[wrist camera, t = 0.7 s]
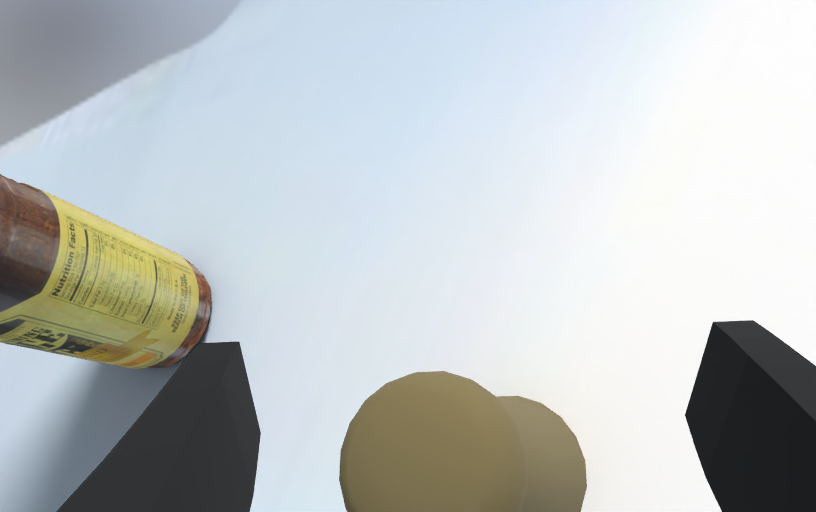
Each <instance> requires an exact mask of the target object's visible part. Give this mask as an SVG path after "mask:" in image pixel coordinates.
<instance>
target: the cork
mask: <svg viewBox="0 0 816 512" xmlns="http://www.w3.org/2000/svg"><path fill="white" fill-rule="evenodd" d="M339 481H340V485H341V489H342V494H343V498H344V503H345V507H346V510H347V512H580V511H581V507H582V503H583V499H584V495H585V491H586V487H587V484H586V468H585V459H584V457H583V454H582V451H581V449H580V446H579V444H578V441H577V438H576V436H575V435H574V434H573V432H572V431H571V430H570V428H569V427H568V426H567V425H566V423H565V422H564V421H563V419H562V418H561V417H560V416H559V415H557V414H556V413H554V412H553V411H551V410H550V409H549V408H547V407H546V406H544V405H543V404H541V403H539V402H536V401H533V400H529V399H526V398H523V397H519V396H504V397H496V396H494V395H493V394H491V393H490V392H489V391H487V390H486V389H484V388H483V387H482V386H480V385H479V384H477V383H476V382H474V381H473V380H471V379H468V378H464V377H461V376H458V375H454V374H451V373H448V372H445V371H440V372H417V373H413V374H410V375H407V376H405V377H402V378H399V379H397V380H394V381H392V382H389V383H386V384H385V385H384V386H383V387H381V388H380V389H379V390H378V391H376V392H375V393H374V394H373V395H372V396H370V397H369V398H368V399H367V400H365V402H364V403H363V405H362V406H361V408H360V409H359V411H358V412H357V414H356V415H355V416H354V418H353V419H352V421H351V422H350V424H349V427H348V430H347V433H346V436H345V439H344V442H343V445H342V449H341V457H340V477H339Z"/></svg>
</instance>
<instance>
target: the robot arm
mask: <svg viewBox="0 0 816 512" xmlns="http://www.w3.org/2000/svg"><path fill="white" fill-rule="evenodd" d="M685 416H686V419H687V423H688V426H689V429H690V432H691V435H692V438H693V442H694V445H695V448H696V451H697V454H698V457H699V459H700V462H701V465H702V468H703V471H704V474H705V476H706V479H707V481H708V483H709V485H710V487H711V489H712V492H713V494H714V496H715V498H716V500H717V502H718V504H719V506H720V508H721V510H722V512H816V366H815V365H814V364H812V363H811V362H810V361H808V360H807V359H806V358H804V357H803V356H802V355H800V354H799V353H798V352H796V351H795V350H794V349H792V348H791V347H790V346H788V345H787V344H786V343H784V342H783V341H782V340H780V339H779V338H777V337H776V336H775V335H773V334H772V333H771V332H769V331H768V330H766V329H765V328H763V327H762V326H761V325H759V324H758V323H756V322H755V321H753V320H752V321H728V322H713V324H712V327H711V331H710V334H709V337H708V341H707V344H706V347H705V351H704V354H703V357H702V361H701V364H700V367H699V371H698V374H697V377H696V380H695V384H694V387H693V390H692V394H691V397H690V400H689V404H688V407H687V410H686V414H685ZM260 434H261V432H260V428H259V424H258V420H257V415H256V411H255V407H254V403H253V398H252V394H251V390H250V386H249V381H248V377H247V373H246V369H245V364H244V360H243V356H242V352H241V347H240V343H239V342H219V343H199V344H198V345H197V346H196V347H195V348H194V349H193V350H192V352H191V353H190V354H189V355H188V357H187V358H186V359H185V360H184V362H183V363H182V364H181V366H180V367H179V368H178V369H177V371H176V372H175V373H174V374H173V376H172V377H171V378H170V380H169V381H168V382H167V383H166V385H165V386H164V387H163V389H162V390H161V391H160V392H159V394H158V395H157V396H156V397H155V399H154V400H153V401H152V402H151V404H150V405H149V406H148V407H147V409H146V410H145V411H144V412H143V414H142V415H141V416H140V417H139V418H138V420H137V421H136V422H135V423H134V424H133V426H132V427H131V428H130V429H129V430H128V431H127V433H126V434H125V435H124V436H123V437H122V439H121V440H120V441H119V442H118V443H117V445H116V446H115V447H114V448H113V449H112V451H111V452H110V453H109V454H108V455H107V456H106V458H105V459H104V460H103V461H102V462H101V463H100V464H99V466H98V467H97V468H96V469H95V470H94V471H93V472H92V473H91V474H90V475H89V477H88V478H87V479H86V480H85V481H84V482H83V483H82V484H81V485H80V486H79V487H78V489H77V490H76V491H75V492H74V493H73V494H72V495H71V496H70V497H69V498H68V499H67V501H66V502H65V503H64V504H63V505H62V506H61V507H60V508H59V509H58V510H57V511H56V512H250V507H251V503H252V499H253V493H254V485H255V477H256V470H257V461H258V452H259V443H260Z"/></svg>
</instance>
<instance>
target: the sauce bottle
mask: <svg viewBox="0 0 816 512" xmlns="http://www.w3.org/2000/svg"><path fill="white" fill-rule="evenodd" d="M211 304H212V302H211V289H210V286H209V284H208V283H207V281H206V279H205V277H204V275H203V274H201V273H200V271H199V270H198V269H197V268H196V267H194V265H192V264H191V263H190V262H188V261H187V260H186V259H184V258H182V257H181V256H180V255H178V254H177V253H175V252H173V251H170V250H168V249H166V248H164V247H161V246H159V245H157V244H155V243H153V242H151V241H149V240H147V239H145V238H143V237H140V236H138V235H136V234H134V233H132V232H130V231H128V230H126V229H123V228H121V227H119V226H117V225H115V224H113V223H111V222H109V221H107V220H104V219H102V218H100V217H98V216H96V215H94V214H92V213H89V212H87V211H85V210H83V209H81V208H79V207H77V206H74V205H72V204H70V203H68V202H66V201H64V200H62V199H60V198H57V197H55V196H53V195H51V194H49V193H47V192H44V191H42V190H40V189H37V188H34V187H32V186H30V185H27V184H23V183H18V182H16V181H14V180H12V179H8V178H6V177H4V176H2V175H1V174H0V342H2V343H6V344H10V345H16V346H21V347H27V348H32V349H37V350H41V351H46V352H51V353H56V354H61V355H66V356H71V357H76V358H81V359H86V360H91V361H96V362H101V363H106V364H111V365H116V366H121V367H125V368H132V369H141V368H161V367H165V366H171V365H172V364H175V363H177V362H178V361H180V360H181V359H183V358H185V356H186V355H187V354H188V352H189V351H190V350H191V349H193V348H194V346H195V345H196V344H197V343H198V342H199V341H200V339H201V337H202V335H203V333H204V331H205V329H206V327H207V324H208V320H209V317H210V307H211Z"/></svg>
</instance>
